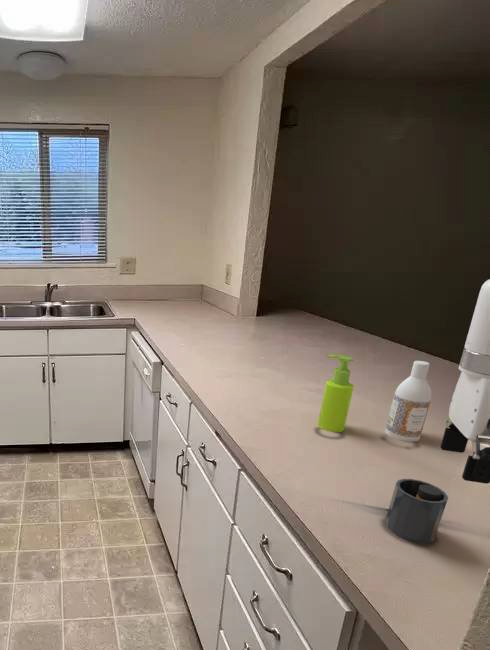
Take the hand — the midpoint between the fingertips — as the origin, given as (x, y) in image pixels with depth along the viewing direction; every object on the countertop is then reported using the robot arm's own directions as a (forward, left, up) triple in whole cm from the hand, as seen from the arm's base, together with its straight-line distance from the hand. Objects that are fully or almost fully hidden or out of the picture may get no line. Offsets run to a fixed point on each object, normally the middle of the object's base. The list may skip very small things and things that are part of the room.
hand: (462, 464), depth 69 cm
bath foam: (-3, -38, -14) cm, 40 cm away
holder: (+4, 0, -14) cm, 14 cm away
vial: (+2, 0, -9) cm, 9 cm away
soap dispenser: (+13, -37, -14) cm, 42 cm away
